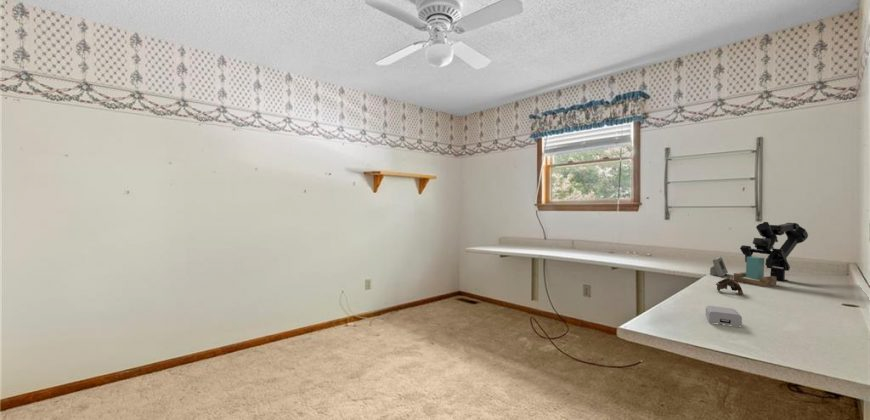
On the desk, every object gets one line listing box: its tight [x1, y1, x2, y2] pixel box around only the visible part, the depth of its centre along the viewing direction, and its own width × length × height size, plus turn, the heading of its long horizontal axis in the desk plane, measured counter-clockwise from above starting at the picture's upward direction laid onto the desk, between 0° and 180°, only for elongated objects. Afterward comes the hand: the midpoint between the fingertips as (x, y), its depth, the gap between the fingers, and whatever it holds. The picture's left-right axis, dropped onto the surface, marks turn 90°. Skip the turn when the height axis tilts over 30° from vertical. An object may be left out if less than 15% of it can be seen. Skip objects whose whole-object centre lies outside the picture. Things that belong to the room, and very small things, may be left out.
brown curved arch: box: [715, 277, 744, 297], centre depth 179 cm, size 12×10×8 cm
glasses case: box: [745, 255, 765, 280], centre depth 201 cm, size 6×6×12 cm
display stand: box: [733, 271, 777, 288], centre depth 201 cm, size 12×14×4 cm
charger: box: [705, 305, 743, 328], centre depth 137 cm, size 5×9×15 cm
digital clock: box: [709, 256, 729, 278], centre depth 223 cm, size 16×9×11 cm, turn 122°
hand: (755, 263), depth 201 cm, fingers open, 9 cm apart
